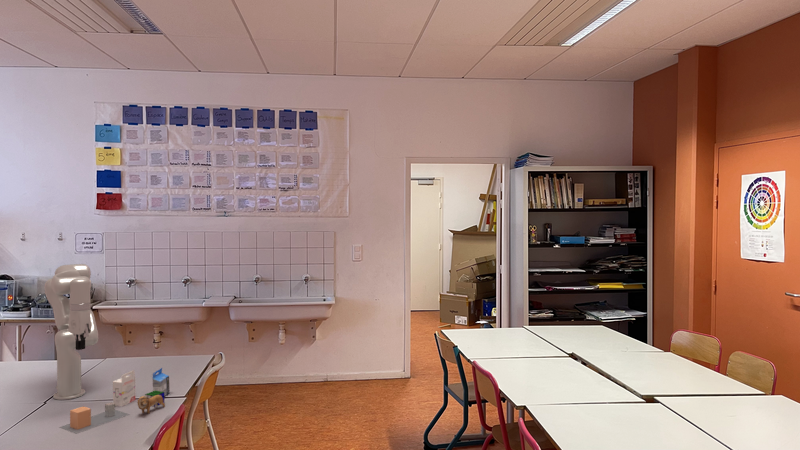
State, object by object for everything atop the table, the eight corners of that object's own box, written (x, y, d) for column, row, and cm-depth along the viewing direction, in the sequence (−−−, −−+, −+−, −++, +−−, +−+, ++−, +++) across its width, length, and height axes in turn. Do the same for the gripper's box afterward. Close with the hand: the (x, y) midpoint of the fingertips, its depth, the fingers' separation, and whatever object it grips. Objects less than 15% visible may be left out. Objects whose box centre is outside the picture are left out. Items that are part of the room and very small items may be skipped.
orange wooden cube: (70, 426, 203) (70, 410, 203) (83, 422, 207) (83, 406, 207) (77, 429, 200) (77, 413, 200) (90, 424, 205) (90, 408, 205)
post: (105, 416, 214) (105, 404, 214) (111, 414, 216) (111, 402, 216) (108, 417, 213) (108, 405, 213) (114, 415, 215) (114, 403, 215)
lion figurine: (144, 419, 212) (144, 398, 212) (133, 418, 214) (133, 397, 214) (168, 407, 227) (168, 387, 226) (158, 405, 228) (158, 385, 228)
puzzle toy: (155, 402, 232) (155, 390, 232) (164, 404, 230) (164, 392, 230) (144, 406, 227) (144, 394, 227) (154, 408, 224) (154, 396, 224)
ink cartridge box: (126, 400, 234) (126, 368, 234) (135, 401, 233) (135, 369, 233) (112, 407, 226) (112, 374, 225) (122, 408, 225) (121, 375, 224)
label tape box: (160, 399, 236) (160, 373, 235) (152, 399, 236) (152, 373, 235) (169, 393, 244) (169, 367, 244) (161, 392, 244) (161, 367, 244)
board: (59, 429, 202) (59, 427, 202) (113, 410, 222) (113, 409, 222) (76, 435, 197) (76, 433, 197) (130, 416, 216) (130, 414, 216)
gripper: (61, 306, 221) (61, 348, 221) (81, 310, 214) (81, 353, 214) (79, 304, 227) (79, 345, 228) (99, 307, 220) (99, 349, 221)
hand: (80, 349), depth 221 cm, fingers closed
